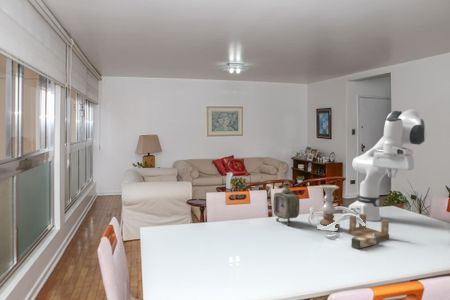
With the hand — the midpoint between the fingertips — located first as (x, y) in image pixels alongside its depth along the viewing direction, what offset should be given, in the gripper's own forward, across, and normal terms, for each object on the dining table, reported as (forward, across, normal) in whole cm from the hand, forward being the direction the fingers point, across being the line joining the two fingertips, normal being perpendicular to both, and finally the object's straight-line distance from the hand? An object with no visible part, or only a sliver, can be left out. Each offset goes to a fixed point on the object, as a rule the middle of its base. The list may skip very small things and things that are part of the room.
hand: (391, 177), depth 167 cm
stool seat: (+31, -7, -7) cm, 33 cm away
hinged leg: (+31, +2, -22) cm, 38 cm away
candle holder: (+31, -27, -15) cm, 44 cm away
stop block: (+31, -1, -23) cm, 39 cm away
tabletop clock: (+31, -47, -28) cm, 63 cm away
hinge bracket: (+31, +1, -14) cm, 34 cm away
